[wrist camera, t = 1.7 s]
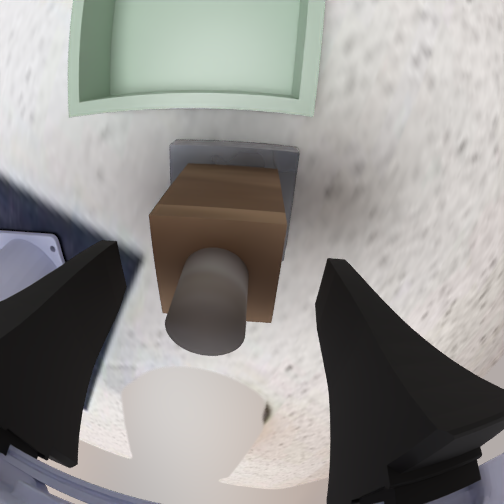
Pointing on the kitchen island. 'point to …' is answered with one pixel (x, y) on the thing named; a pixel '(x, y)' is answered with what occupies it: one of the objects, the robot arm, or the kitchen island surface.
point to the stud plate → (240, 161)
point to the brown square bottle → (218, 253)
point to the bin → (194, 55)
